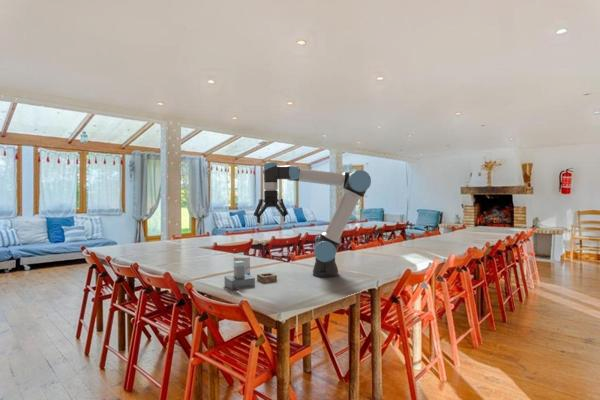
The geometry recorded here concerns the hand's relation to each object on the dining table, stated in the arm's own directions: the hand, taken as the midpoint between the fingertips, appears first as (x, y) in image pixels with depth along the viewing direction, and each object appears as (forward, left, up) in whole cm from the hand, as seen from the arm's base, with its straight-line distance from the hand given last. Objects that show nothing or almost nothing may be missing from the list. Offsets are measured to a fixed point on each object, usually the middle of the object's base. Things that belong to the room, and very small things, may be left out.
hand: (271, 228), depth 193 cm
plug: (+21, +5, -28) cm, 35 cm away
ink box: (+12, -15, -29) cm, 35 cm away
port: (+21, +5, -29) cm, 36 cm away
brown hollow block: (+5, +4, -29) cm, 29 cm away
